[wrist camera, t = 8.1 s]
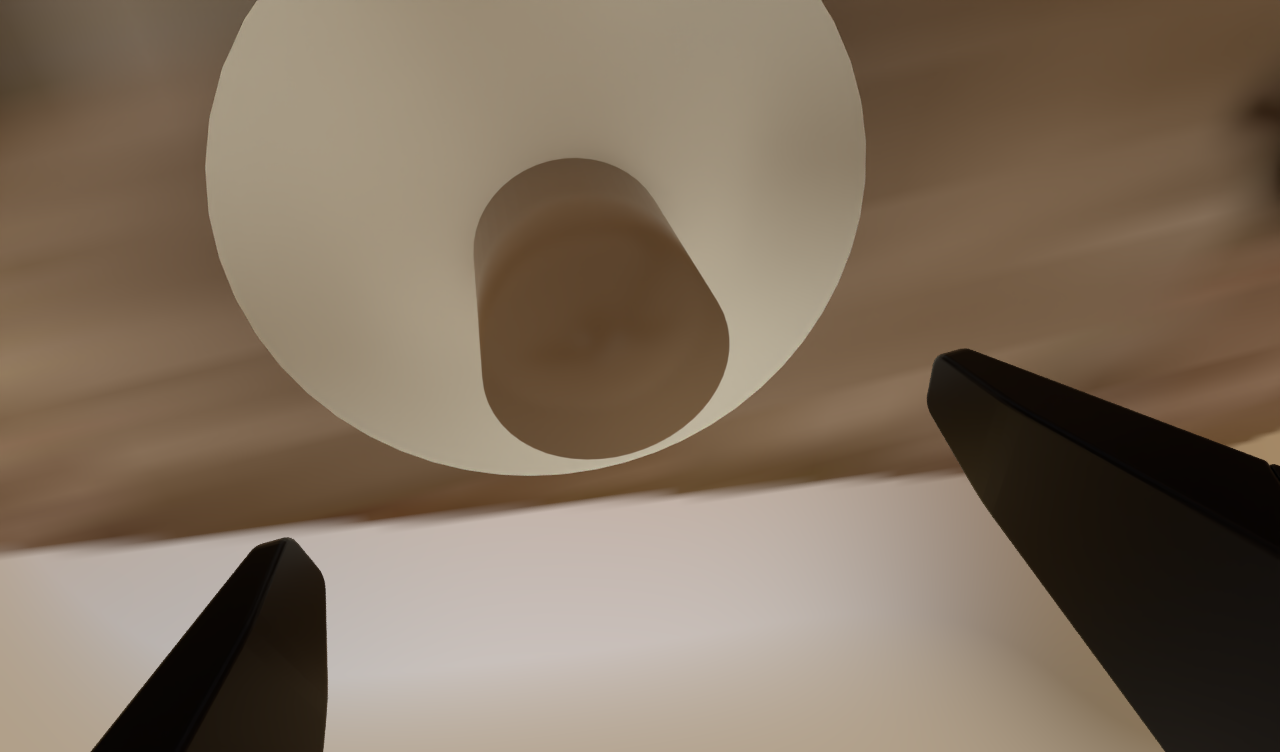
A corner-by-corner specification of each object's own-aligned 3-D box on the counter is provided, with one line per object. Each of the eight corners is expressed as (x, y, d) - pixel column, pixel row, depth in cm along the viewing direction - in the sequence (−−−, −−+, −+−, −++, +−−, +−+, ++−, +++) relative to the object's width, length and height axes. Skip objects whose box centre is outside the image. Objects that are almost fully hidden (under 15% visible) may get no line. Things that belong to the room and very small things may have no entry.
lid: (404, -420, 8) (370, -657, 4) (957, 139, 15) (1127, 229, 11) (131, 346, 13) (10, 531, 10) (633, 502, 20) (675, 646, 16)
